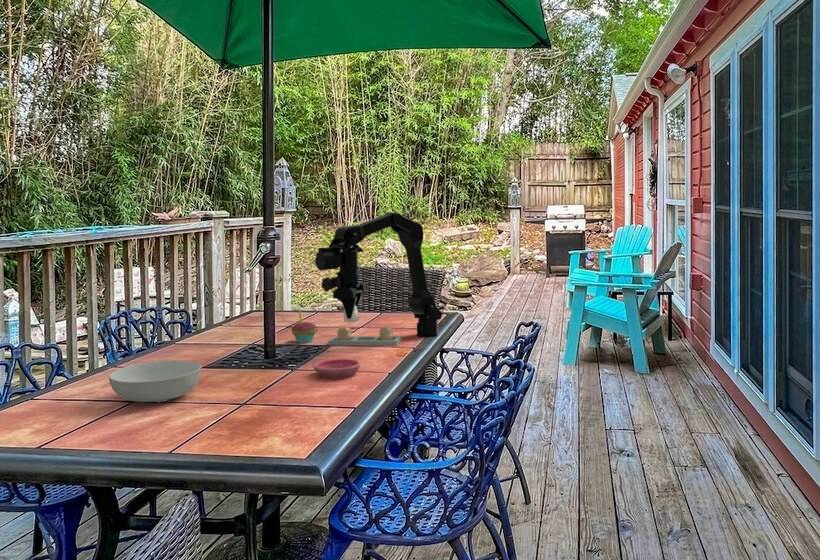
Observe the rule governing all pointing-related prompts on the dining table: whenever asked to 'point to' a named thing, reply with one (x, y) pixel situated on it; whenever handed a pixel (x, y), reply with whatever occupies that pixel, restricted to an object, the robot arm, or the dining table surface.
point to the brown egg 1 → (344, 333)
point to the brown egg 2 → (386, 333)
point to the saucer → (337, 368)
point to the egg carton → (366, 341)
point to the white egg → (354, 315)
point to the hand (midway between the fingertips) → (351, 317)
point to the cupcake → (304, 331)
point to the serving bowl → (155, 380)
